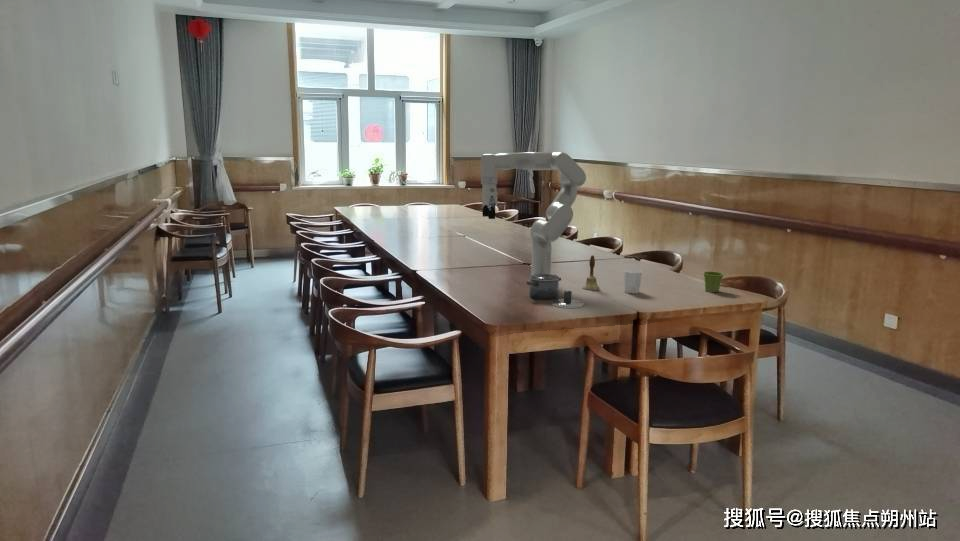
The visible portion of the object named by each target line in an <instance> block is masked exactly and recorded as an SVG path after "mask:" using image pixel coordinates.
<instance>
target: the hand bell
mask: <svg viewBox="0 0 960 541" xmlns="http://www.w3.org/2000/svg"><path fill="white" fill-rule="evenodd" d="M595 264H596V259H595V255H591V256H590V258H589V270H590V271H589V276H587V277H586V280H585V283H584V285H583V286H582V289H583V288H584V289H583V290H586V289H588V290H587V291H598V290H597V289H599V290H601V287H600V286H599V285H598V283H597V277H596V276H594V274H595V273H594V268H595Z"/></svg>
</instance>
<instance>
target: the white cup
mask: <svg viewBox="0 0 960 541" xmlns="http://www.w3.org/2000/svg"><path fill="white" fill-rule="evenodd" d="M623 274H624V277H623V278H624V280H623V286H624V288H623V289H624V290H623V291H625V292H624V293H626V294H631V293H635V294H639V293H640V287H641V282H642V281H641V280H642V271H641V270H638V269H624V272H623Z"/></svg>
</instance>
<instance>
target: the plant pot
mask: <svg viewBox="0 0 960 541" xmlns="http://www.w3.org/2000/svg"><path fill="white" fill-rule="evenodd" d="M702 274H703V277H704V291H705V292H708V293H719V291H720V286H721V284H722V283H721V282H722V279H723V277H724V276H725V274H724V273H723V272H719V271H703V272H702Z"/></svg>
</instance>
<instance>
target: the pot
mask: <svg viewBox="0 0 960 541" xmlns="http://www.w3.org/2000/svg"><path fill="white" fill-rule="evenodd" d="M556 275H557V274H556ZM556 275H553V274H552V275H550V274H535V275H531V274H530V275H529V280H530V281H529V280H528V281H526V285H529V296H528V297H529V298H531V299H534V300H539V301H540V300H542V301H553V300H556V299H559V284H560V283H559V282H561V281H562V277H560V276H559V275H557V276H556Z"/></svg>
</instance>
